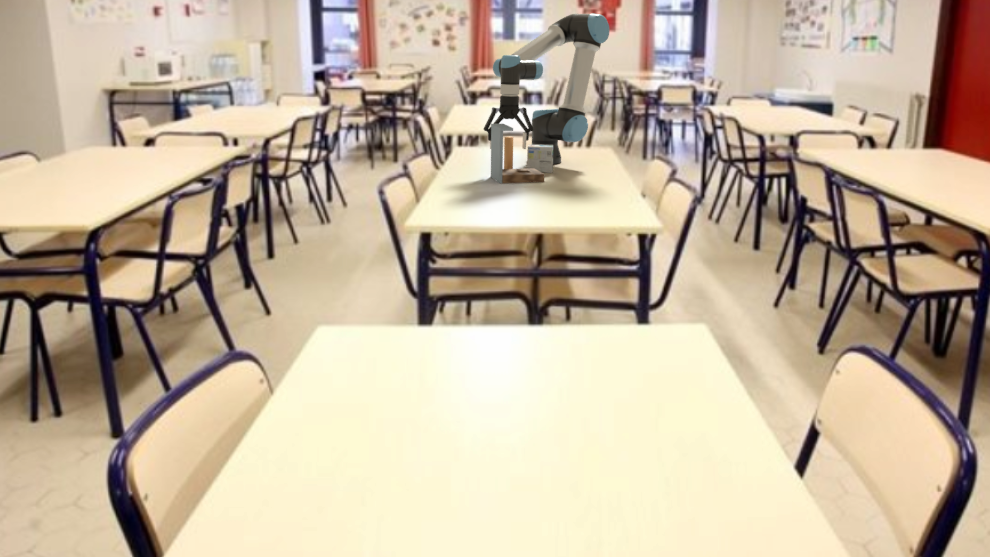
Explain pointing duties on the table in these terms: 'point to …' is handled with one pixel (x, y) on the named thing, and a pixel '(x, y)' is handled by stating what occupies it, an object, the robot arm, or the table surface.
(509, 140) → the peg
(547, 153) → the light bulb box
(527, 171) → the socket board
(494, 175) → the grey l-shaped bracket
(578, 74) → the robot arm
